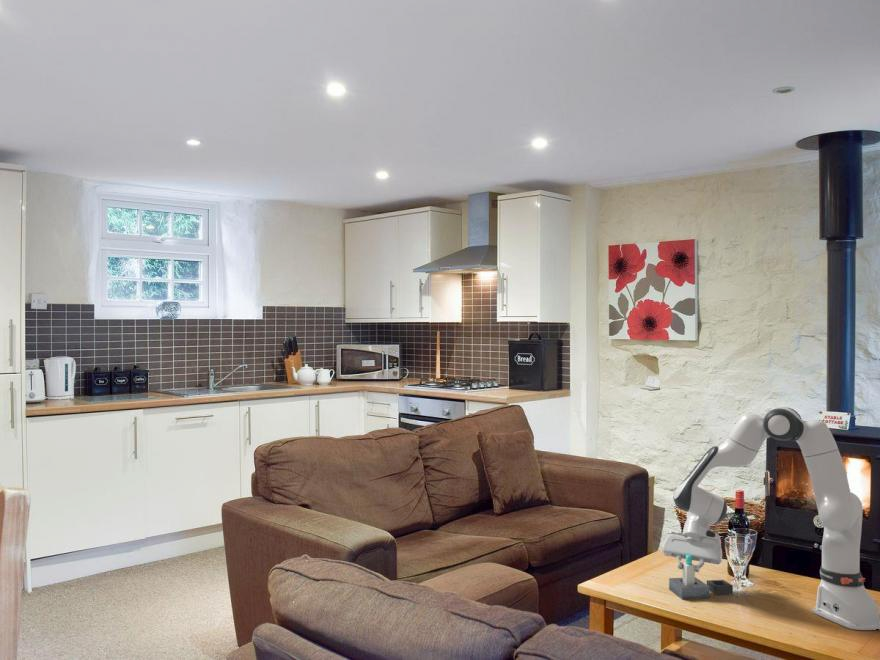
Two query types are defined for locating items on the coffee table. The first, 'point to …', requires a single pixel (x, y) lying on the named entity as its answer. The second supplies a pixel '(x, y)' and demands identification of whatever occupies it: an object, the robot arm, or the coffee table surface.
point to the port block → (688, 589)
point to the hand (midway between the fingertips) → (688, 569)
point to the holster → (720, 587)
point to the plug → (688, 571)
